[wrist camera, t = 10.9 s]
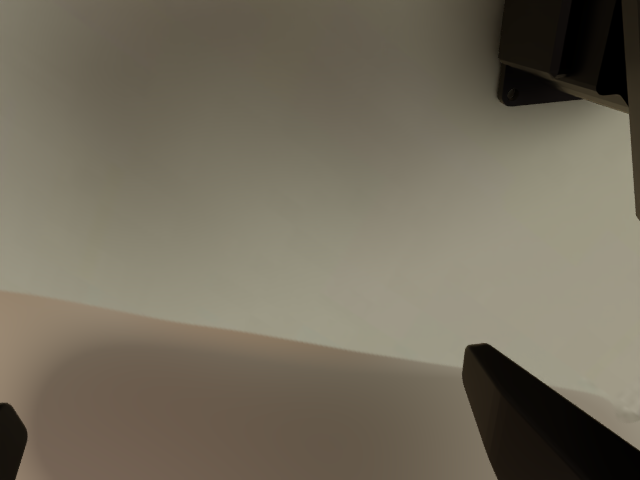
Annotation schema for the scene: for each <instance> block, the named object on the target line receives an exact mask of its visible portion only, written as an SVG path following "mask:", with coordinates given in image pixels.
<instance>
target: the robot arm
mask: <svg viewBox="0 0 640 480" xmlns="http://www.w3.org/2000/svg"><path fill="white" fill-rule="evenodd" d="M498 58H499V60H500V61H501V62H502V64H501V72H500V81H499V89H498V99H499V101H500V102H501V103H503V104H504V105H507V106H520V105H530V104H540V103H550V102H560V101H570V100H580V99H585V100H588V101H591V102H594V103H597V104H600V105H603V106H606V107H609V108H612V109H615V110H618V111H621V112H624V113H627V114H629V119H630V134H631V149H632V163H633V178H634V193H635V208H636V216H637V218H638V219H639V220H640V0H505V4H504V12H503V21H502V29H501V38H500V46H499V55H498ZM511 89H514V91H515V93H514V95H513V96H512V97H511V98H509V99H508V96H507V95H508V92H509V91H510V90H511ZM462 379H463V385H464V388H465V391H466V394H467V397H468V400H469V403H470V405H471V409H472V412H473V414H474V417H475V420H476V423H477V426H478V429H479V432H480V435H481V438H482V441H483V444H484V447H485V450H486V453H487V455H488V458H489V460H490V463H491V465H492V468H493V470H494V472H495V474H496V476H497V479H498V480H640V451H639V450H638V449H637V448H635V447H634V446H632V445H631V444H630V443H628V442H627V441H625V440H624V439H622V438H621V437H620V436H618V435H617V434H615V433H614V432H613V431H611V430H610V429H608V428H607V427H605V426H604V425H603V424H601V423H600V422H598V421H597V420H596V419H594V418H593V417H591V416H590V415H588V414H587V413H586V412H584V411H583V410H581V409H580V408H579V407H577V406H576V405H574V404H572V403H571V402H570V401H569V400H567V399H566V398H564V397H563V396H562V395H560V394H559V393H557V392H556V391H555V390H553V389H552V388H550V387H549V386H547V385H546V384H545V383H543V382H542V381H540V380H539V379H538V378H536V377H535V376H533V375H532V374H530V373H529V372H528V371H526V370H525V369H523V368H522V367H521V366H519V365H518V364H516V363H515V362H514V361H512V360H511V359H509V358H508V357H506V356H505V355H504V354H502V353H501V352H499V351H498V350H497V349H495V348H494V347H492V346H491V345H489V344H487V343H480V344H472V345H468V346H467V347H466V349H465V354H464V362H463V371H462ZM26 443H27V430H26V428H25V426H24V424H23V422H22V421H21V419H20V418H19V416H18V415H17V413H16V411H15V410H14V409H13V407H12V406H11V405H10V404H8V403H0V480H15V479H16V475H17V472H18V469H19V466H20V463H21V459H22V456H23V453H24V450H25V446H26Z"/></svg>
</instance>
